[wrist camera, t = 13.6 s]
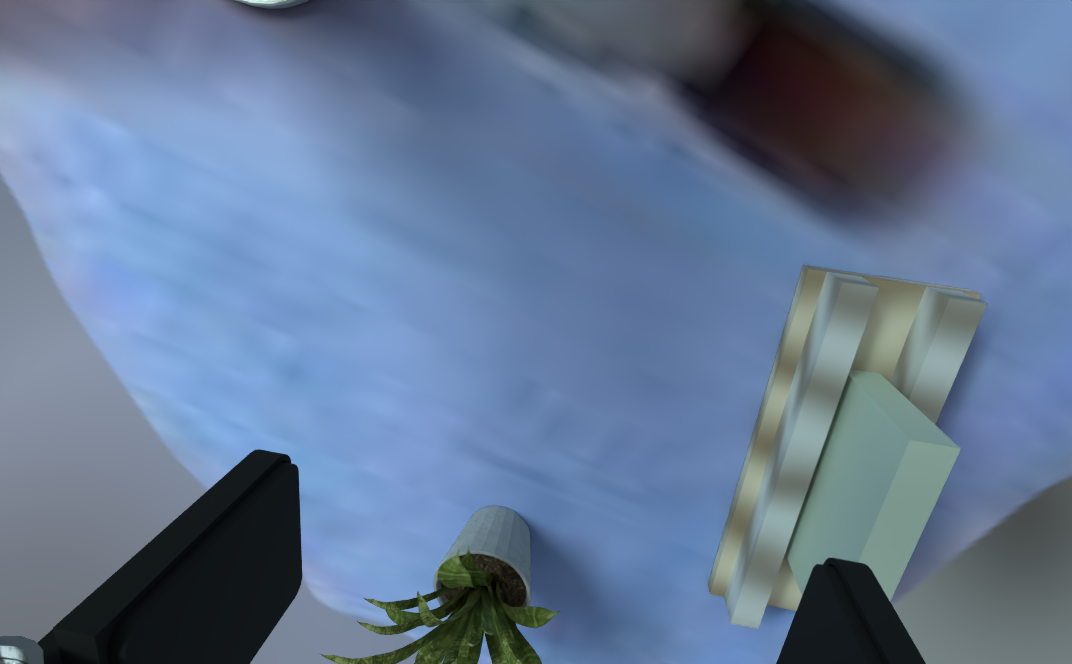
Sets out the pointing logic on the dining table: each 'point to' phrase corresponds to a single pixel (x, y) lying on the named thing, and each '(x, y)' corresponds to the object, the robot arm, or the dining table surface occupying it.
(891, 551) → the door panel
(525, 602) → the house plant
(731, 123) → the dining table surface
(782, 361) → the door track
